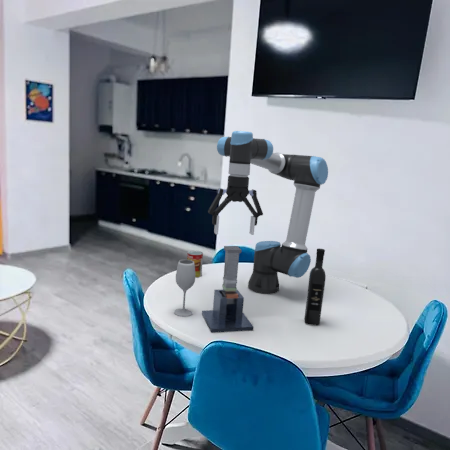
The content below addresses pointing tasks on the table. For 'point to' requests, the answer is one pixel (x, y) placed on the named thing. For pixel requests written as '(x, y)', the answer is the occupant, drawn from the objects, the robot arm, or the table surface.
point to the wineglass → (185, 282)
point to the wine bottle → (315, 291)
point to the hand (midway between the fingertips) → (234, 233)
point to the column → (230, 272)
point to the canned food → (196, 261)
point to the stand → (227, 314)
